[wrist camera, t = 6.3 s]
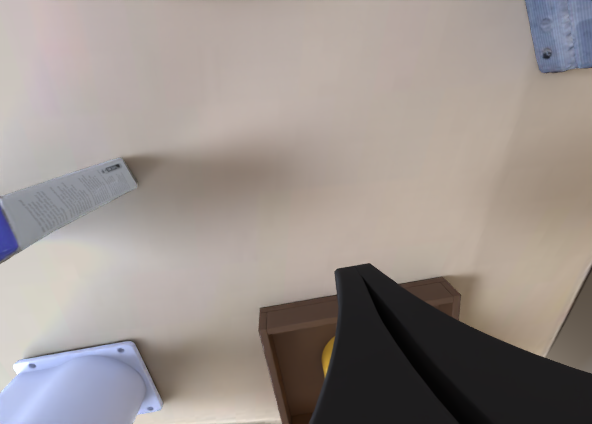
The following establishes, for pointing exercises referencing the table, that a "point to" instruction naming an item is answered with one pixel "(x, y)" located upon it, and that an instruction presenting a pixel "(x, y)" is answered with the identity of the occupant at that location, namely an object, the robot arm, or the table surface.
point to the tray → (319, 343)
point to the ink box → (59, 203)
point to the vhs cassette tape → (561, 33)
